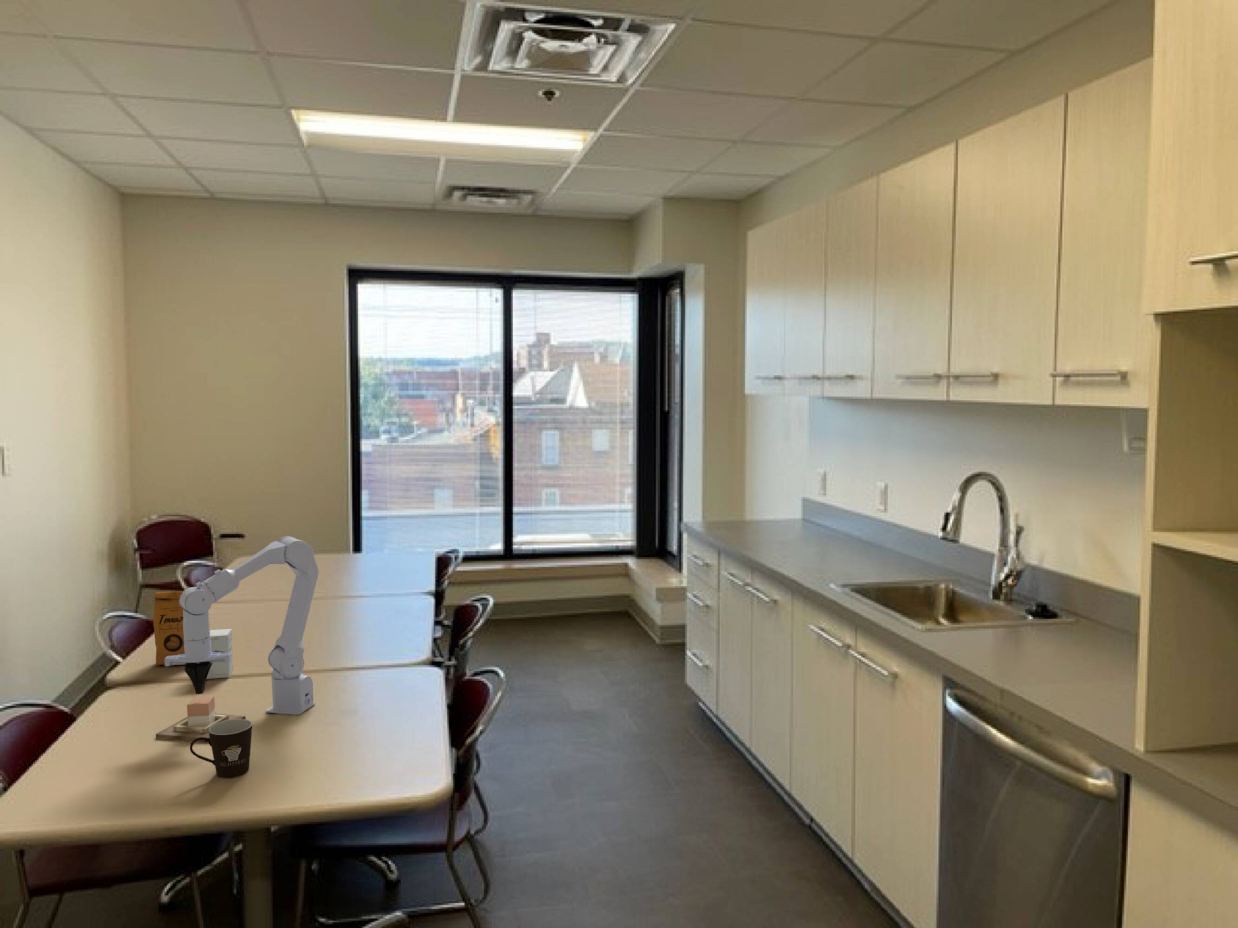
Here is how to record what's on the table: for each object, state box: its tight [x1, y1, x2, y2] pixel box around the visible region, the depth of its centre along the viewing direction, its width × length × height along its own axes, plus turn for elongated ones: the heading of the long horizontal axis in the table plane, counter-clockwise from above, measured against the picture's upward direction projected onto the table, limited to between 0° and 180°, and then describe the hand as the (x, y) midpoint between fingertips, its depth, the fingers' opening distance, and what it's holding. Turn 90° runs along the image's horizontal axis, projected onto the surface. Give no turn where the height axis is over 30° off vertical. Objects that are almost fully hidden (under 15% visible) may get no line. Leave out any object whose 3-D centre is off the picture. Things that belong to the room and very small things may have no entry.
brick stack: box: [186, 696, 216, 727], centre depth 211 cm, size 5×5×6 cm
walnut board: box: [155, 713, 247, 743], centre depth 211 cm, size 14×14×2 cm
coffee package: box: [152, 590, 186, 666], centre depth 261 cm, size 10×12×22 cm
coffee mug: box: [189, 719, 253, 779], centre depth 187 cm, size 12×9×10 cm
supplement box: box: [206, 628, 234, 680], centre depth 250 cm, size 7×7×13 cm
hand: (200, 692), depth 210 cm, fingers closed
